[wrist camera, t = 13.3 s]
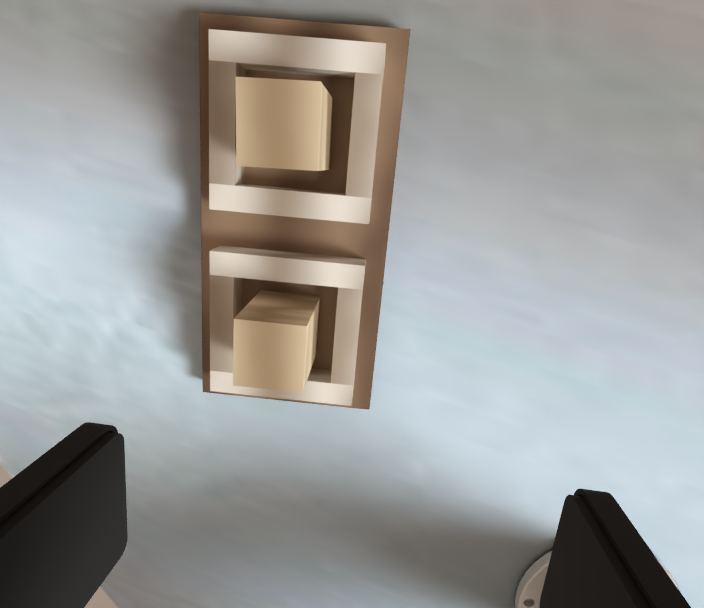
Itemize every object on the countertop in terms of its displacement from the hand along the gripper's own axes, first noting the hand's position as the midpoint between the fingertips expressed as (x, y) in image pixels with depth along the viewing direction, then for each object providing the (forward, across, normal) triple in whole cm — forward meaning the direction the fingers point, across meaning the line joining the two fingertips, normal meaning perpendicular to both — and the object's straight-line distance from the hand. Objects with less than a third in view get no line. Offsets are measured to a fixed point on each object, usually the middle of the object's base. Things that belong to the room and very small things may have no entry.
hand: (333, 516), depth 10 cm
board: (+23, +6, -3) cm, 24 cm away
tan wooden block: (+21, +6, -9) cm, 24 cm away
